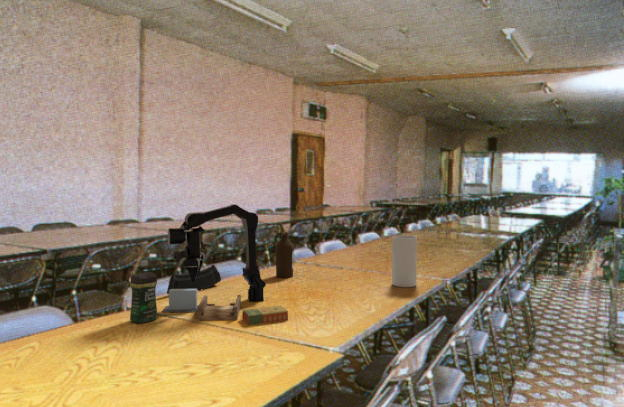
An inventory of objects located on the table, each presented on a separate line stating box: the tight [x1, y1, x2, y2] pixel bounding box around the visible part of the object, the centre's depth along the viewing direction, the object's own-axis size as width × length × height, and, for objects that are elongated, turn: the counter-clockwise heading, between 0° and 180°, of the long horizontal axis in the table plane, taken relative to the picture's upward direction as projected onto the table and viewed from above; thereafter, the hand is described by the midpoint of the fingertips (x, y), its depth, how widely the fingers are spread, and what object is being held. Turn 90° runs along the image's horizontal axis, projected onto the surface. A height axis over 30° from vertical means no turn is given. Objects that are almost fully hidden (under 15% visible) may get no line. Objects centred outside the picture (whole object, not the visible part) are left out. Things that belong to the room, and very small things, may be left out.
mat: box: [160, 304, 199, 313], centre depth 197 cm, size 16×9×1 cm, turn 95°
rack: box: [196, 294, 242, 321], centre depth 192 cm, size 15×19×5 cm
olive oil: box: [274, 231, 295, 279], centre depth 263 cm, size 11×11×25 cm
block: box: [168, 289, 198, 310], centre depth 197 cm, size 11×3×8 cm, turn 95°
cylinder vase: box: [391, 234, 418, 288], centre depth 243 cm, size 12×12×25 cm
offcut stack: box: [203, 305, 234, 316], centre depth 188 cm, size 12×6×4 cm, turn 95°
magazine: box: [166, 264, 222, 295], centre depth 229 cm, size 17×3×30 cm
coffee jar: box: [129, 271, 158, 324], centre depth 181 cm, size 10×8×19 cm
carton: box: [241, 305, 289, 326], centre depth 183 cm, size 8×16×4 cm, turn 114°
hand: (194, 279), depth 200 cm, fingers open, 9 cm apart
